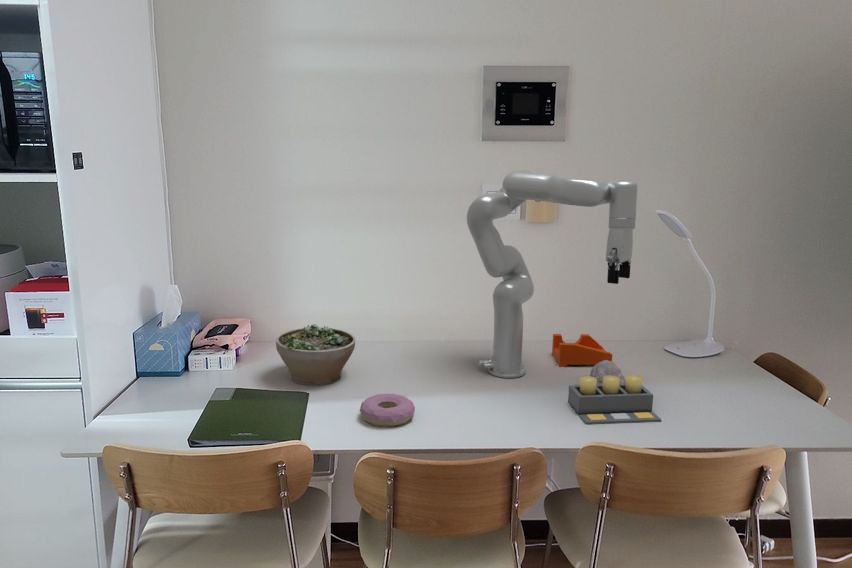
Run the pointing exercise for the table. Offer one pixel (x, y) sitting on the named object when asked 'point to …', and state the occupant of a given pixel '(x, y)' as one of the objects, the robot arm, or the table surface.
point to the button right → (633, 384)
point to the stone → (606, 371)
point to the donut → (387, 410)
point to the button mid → (610, 385)
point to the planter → (315, 354)
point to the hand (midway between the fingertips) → (618, 280)
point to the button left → (588, 385)
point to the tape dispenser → (578, 351)
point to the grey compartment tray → (610, 401)
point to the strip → (619, 418)
